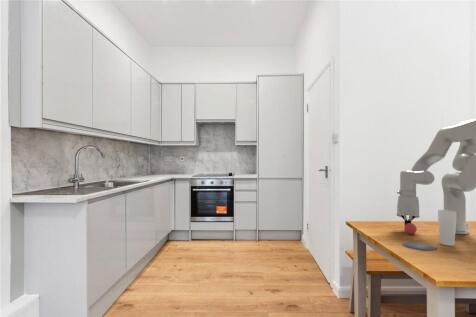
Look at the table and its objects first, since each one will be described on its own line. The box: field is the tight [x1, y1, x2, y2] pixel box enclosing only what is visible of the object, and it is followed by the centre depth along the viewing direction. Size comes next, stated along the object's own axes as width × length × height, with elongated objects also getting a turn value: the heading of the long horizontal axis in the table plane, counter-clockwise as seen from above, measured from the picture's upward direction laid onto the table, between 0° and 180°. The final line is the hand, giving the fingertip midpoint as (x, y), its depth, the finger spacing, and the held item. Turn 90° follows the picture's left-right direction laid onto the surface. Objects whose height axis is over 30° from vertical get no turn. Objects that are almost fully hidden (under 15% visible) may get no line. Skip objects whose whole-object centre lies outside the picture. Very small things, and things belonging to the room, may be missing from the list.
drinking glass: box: [437, 209, 457, 247], centre depth 132 cm, size 7×7×15 cm
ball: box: [403, 222, 418, 235], centre depth 152 cm, size 6×6×6 cm
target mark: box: [401, 241, 438, 252], centre depth 129 cm, size 13×13×1 cm
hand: (407, 227), depth 160 cm, fingers closed
